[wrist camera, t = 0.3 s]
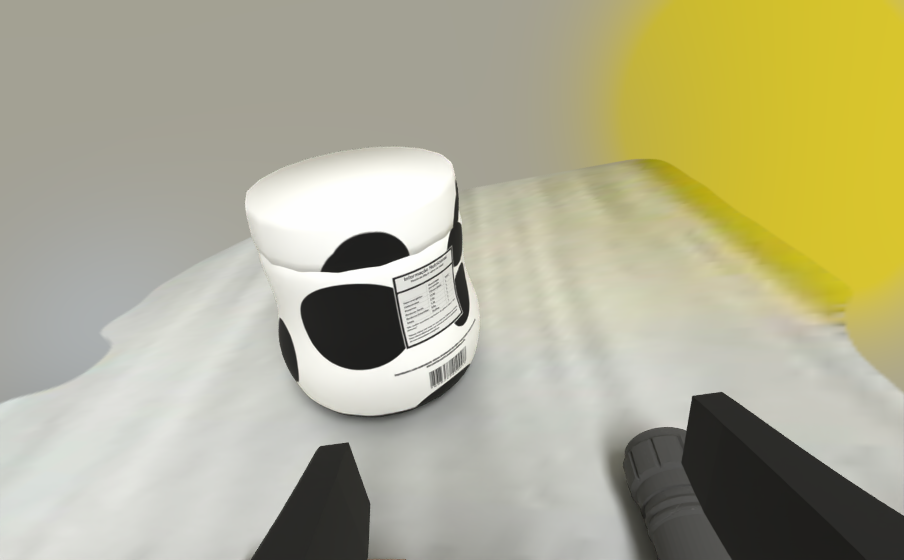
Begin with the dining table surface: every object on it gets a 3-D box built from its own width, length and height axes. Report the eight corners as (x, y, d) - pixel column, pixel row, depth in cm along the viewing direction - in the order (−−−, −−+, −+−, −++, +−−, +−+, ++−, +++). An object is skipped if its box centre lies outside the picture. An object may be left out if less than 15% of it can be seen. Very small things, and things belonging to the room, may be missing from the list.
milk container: (335, 306, 51) (290, 148, 42) (488, 306, 49) (478, 137, 39) (262, 431, 37) (168, 233, 27) (474, 442, 34) (452, 226, 25)
